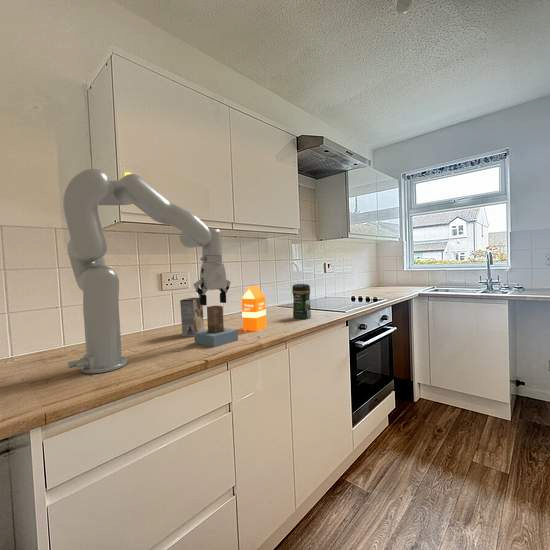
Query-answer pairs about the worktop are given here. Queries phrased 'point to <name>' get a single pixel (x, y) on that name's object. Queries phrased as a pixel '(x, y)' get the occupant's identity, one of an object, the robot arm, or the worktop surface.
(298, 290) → the coffee jar
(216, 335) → the socket block
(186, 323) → the coffee box
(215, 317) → the peg
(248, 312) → the orange juice
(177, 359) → the worktop surface
